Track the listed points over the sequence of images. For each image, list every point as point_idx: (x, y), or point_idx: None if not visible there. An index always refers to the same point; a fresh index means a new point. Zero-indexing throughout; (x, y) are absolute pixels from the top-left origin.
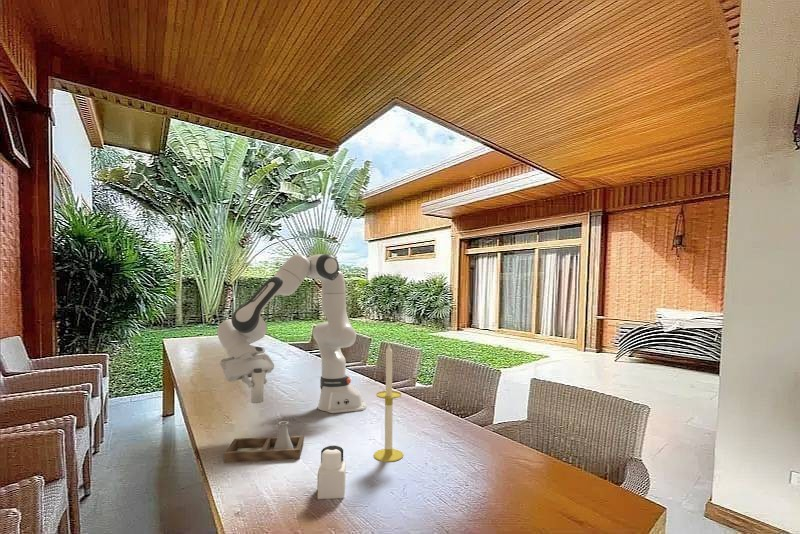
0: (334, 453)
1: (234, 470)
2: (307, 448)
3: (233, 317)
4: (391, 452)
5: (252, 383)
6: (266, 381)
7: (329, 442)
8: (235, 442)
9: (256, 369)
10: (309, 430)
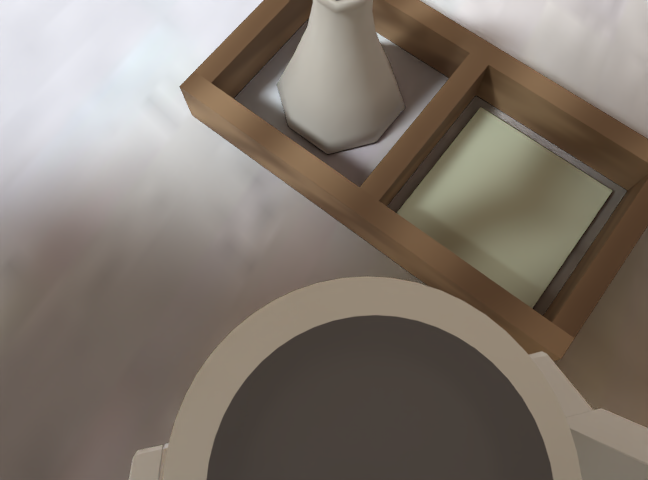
0: None
1: (633, 71)
2: None
3: None
4: None
5: None
6: (156, 447)
7: (75, 42)
8: (579, 282)
9: (477, 402)
10: (8, 286)
